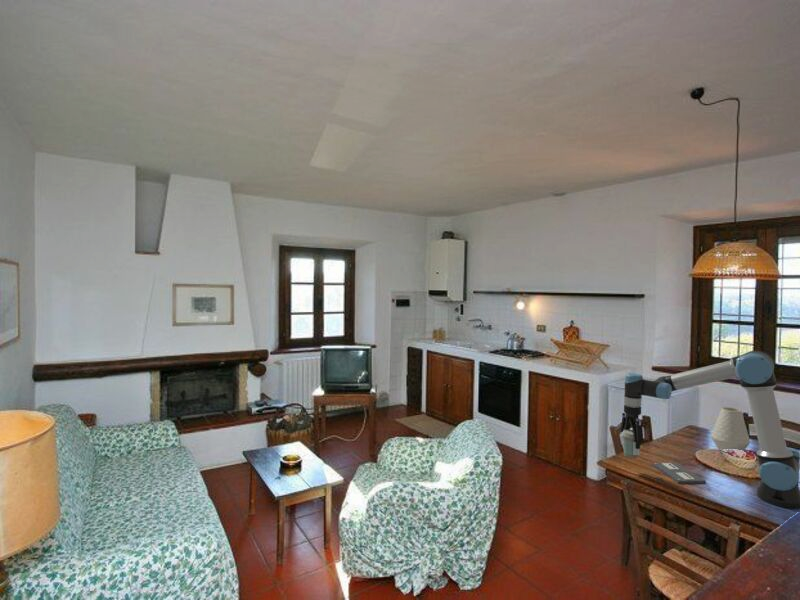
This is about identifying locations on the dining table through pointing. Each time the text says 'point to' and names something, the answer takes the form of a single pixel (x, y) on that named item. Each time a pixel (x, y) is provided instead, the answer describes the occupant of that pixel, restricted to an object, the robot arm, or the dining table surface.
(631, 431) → the coffee cup
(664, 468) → the board
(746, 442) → the vase
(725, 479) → the dining table surface
